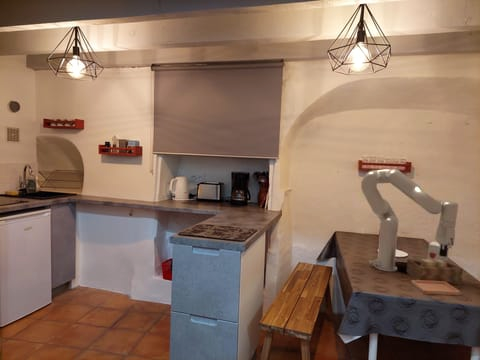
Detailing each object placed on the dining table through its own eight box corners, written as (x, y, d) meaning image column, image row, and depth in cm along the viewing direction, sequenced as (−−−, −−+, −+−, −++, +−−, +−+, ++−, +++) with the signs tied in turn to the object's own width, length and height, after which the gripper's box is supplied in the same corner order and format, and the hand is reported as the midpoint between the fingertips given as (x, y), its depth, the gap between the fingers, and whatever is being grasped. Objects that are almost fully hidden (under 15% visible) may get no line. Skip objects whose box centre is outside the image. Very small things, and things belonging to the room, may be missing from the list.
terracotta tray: (424, 293, 159) (424, 290, 159) (410, 283, 172) (410, 279, 172) (460, 295, 159) (461, 291, 159) (444, 284, 172) (444, 281, 172)
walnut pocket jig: (419, 282, 174) (420, 267, 173) (406, 272, 188) (407, 259, 187) (461, 284, 173) (462, 269, 173) (445, 274, 187) (446, 260, 187)
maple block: (424, 272, 178) (425, 261, 177) (420, 269, 182) (421, 258, 182) (446, 273, 178) (447, 262, 177) (441, 270, 182) (442, 259, 182)
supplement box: (426, 267, 197) (428, 243, 196) (430, 264, 204) (432, 241, 202) (443, 271, 191) (445, 247, 190) (447, 268, 197) (449, 244, 196)
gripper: (432, 220, 185) (428, 251, 187) (449, 226, 170) (444, 260, 172) (445, 221, 185) (441, 251, 187) (463, 227, 170) (458, 261, 172)
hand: (442, 255), depth 180 cm, fingers closed
